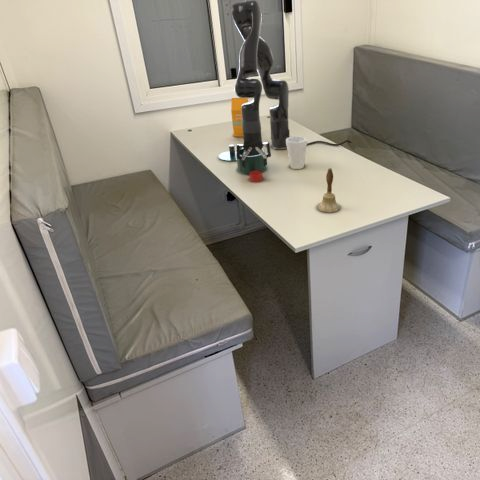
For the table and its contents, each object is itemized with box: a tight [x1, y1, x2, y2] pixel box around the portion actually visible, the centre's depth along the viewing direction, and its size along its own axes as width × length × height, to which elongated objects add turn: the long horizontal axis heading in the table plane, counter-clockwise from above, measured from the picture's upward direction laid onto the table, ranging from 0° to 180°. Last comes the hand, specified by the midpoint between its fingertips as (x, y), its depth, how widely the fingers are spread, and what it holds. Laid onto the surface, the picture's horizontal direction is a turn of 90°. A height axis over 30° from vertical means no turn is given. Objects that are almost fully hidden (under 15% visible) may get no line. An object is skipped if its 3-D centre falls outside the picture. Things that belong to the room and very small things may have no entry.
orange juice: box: [230, 97, 249, 137], centre depth 237 cm, size 8×9×20 cm
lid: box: [218, 144, 237, 162], centre depth 209 cm, size 14×14×6 cm
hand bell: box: [317, 168, 340, 214], centre depth 161 cm, size 8×8×16 cm
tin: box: [235, 147, 267, 176], centre depth 196 cm, size 13×13×8 cm
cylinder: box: [248, 171, 264, 183], centre depth 188 cm, size 6×6×3 cm
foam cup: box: [286, 135, 308, 170], centre depth 198 cm, size 10×9×13 cm
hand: (254, 166), depth 185 cm, fingers open, 8 cm apart
